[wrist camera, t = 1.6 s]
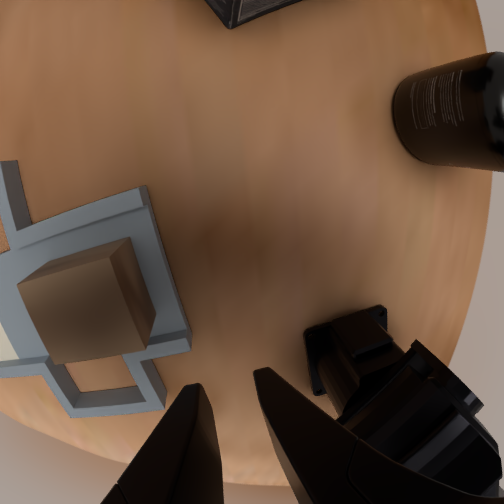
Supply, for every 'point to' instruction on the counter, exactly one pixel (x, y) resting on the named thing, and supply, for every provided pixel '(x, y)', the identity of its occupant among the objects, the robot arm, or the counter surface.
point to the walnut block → (90, 303)
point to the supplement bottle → (455, 113)
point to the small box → (244, 9)
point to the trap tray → (68, 242)
